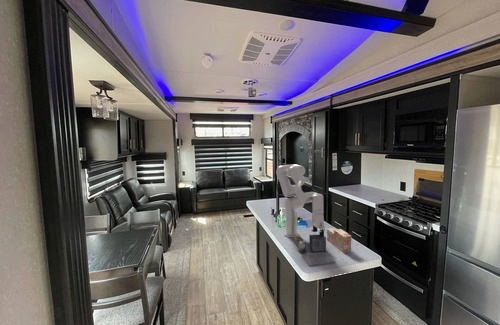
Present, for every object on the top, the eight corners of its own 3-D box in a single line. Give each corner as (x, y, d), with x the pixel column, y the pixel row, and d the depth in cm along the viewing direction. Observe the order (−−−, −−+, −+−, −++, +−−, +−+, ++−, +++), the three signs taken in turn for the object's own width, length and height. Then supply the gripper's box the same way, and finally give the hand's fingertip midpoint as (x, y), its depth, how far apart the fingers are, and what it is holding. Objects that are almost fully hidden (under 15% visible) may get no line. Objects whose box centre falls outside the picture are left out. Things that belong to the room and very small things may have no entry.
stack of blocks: (326, 240, 174) (326, 225, 173) (333, 239, 176) (333, 224, 174) (343, 253, 153) (343, 236, 152) (351, 252, 155) (351, 235, 154)
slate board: (301, 255, 151) (301, 254, 151) (325, 252, 154) (325, 251, 154) (309, 266, 138) (309, 264, 138) (335, 262, 142) (335, 261, 141)
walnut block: (294, 243, 170) (294, 237, 170) (300, 242, 171) (300, 236, 171) (296, 246, 165) (296, 239, 165) (303, 245, 166) (303, 239, 166)
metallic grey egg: (297, 250, 159) (297, 241, 158) (303, 249, 160) (304, 240, 159) (300, 253, 154) (300, 244, 153) (306, 252, 155) (306, 243, 154)
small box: (323, 247, 163) (323, 233, 162) (326, 251, 156) (326, 237, 155) (309, 247, 162) (309, 234, 161) (311, 252, 156) (311, 238, 155)
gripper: (307, 208, 164) (308, 230, 165) (319, 215, 147) (319, 239, 148) (317, 207, 165) (317, 229, 166) (329, 214, 148) (329, 238, 149)
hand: (318, 234), depth 157 cm, fingers open, 9 cm apart
